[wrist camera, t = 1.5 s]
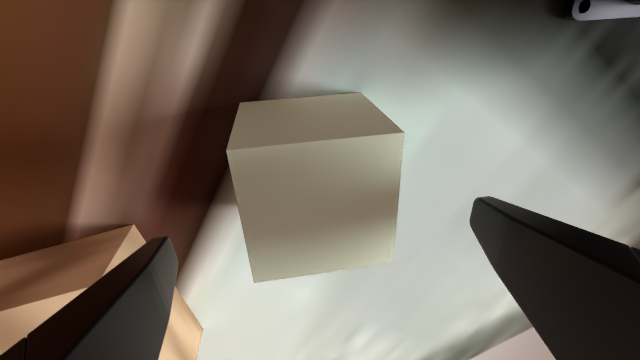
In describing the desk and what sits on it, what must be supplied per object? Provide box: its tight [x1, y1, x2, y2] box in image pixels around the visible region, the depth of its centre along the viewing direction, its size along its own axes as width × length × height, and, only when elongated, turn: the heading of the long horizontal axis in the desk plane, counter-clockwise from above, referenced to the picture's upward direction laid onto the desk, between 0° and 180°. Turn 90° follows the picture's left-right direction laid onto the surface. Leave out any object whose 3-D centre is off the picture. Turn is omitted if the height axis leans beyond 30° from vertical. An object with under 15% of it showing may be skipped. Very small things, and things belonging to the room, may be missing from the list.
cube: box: [226, 92, 404, 283], centre depth 12 cm, size 5×5×5 cm
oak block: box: [0, 224, 203, 360], centre depth 15 cm, size 8×8×4 cm
